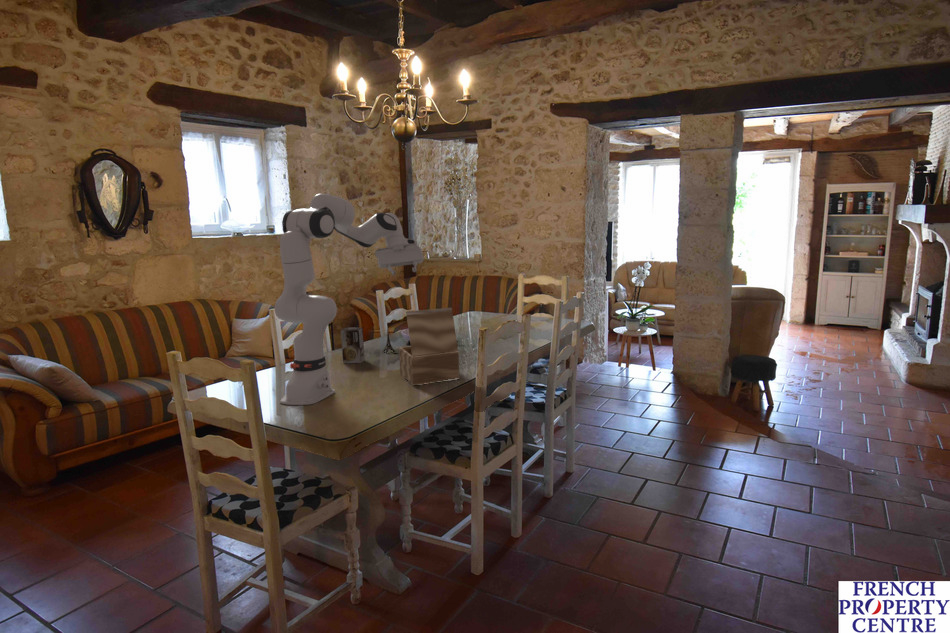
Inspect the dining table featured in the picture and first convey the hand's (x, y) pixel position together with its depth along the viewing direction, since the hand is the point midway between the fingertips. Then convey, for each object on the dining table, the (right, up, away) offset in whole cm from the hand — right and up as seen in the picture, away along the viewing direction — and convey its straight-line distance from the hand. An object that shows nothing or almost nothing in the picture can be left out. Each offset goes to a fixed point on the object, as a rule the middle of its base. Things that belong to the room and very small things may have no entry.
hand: (404, 272), depth 250 cm
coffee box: (-27, -41, +25) cm, 55 cm away
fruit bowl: (+5, -33, +64) cm, 72 cm away
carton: (+11, -45, -5) cm, 46 cm away
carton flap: (+13, -25, -15) cm, 32 cm away
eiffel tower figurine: (-13, -38, +43) cm, 58 cm away
